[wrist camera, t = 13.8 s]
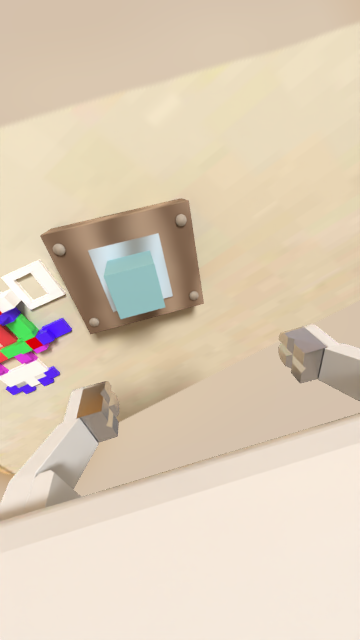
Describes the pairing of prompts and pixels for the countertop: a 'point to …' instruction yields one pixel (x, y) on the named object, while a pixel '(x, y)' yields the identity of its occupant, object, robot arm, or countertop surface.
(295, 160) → the countertop surface
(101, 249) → the plinth
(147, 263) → the teal block
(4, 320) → the building block set
